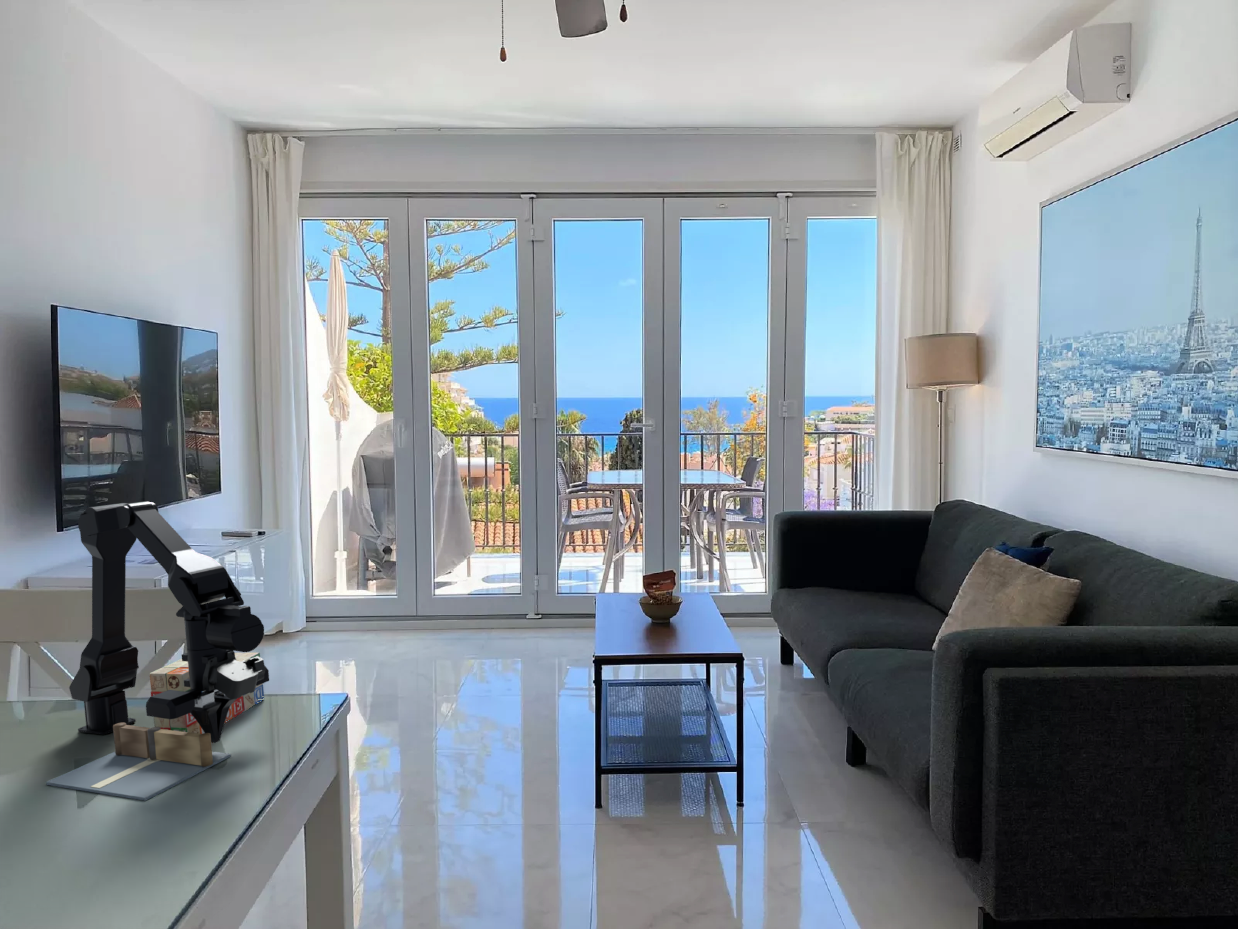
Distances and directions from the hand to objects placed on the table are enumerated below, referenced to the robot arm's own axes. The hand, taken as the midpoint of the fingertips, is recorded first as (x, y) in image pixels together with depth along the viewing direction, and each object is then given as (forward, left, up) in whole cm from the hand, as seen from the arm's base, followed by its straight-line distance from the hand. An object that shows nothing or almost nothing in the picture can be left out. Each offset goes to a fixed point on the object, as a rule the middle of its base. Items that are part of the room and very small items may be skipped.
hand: (215, 741), depth 136 cm
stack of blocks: (-13, +12, -2) cm, 18 cm away
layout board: (-7, -8, -2) cm, 11 cm away
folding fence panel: (-2, -5, -1) cm, 5 cm away
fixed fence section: (-11, -5, -2) cm, 13 cm away
